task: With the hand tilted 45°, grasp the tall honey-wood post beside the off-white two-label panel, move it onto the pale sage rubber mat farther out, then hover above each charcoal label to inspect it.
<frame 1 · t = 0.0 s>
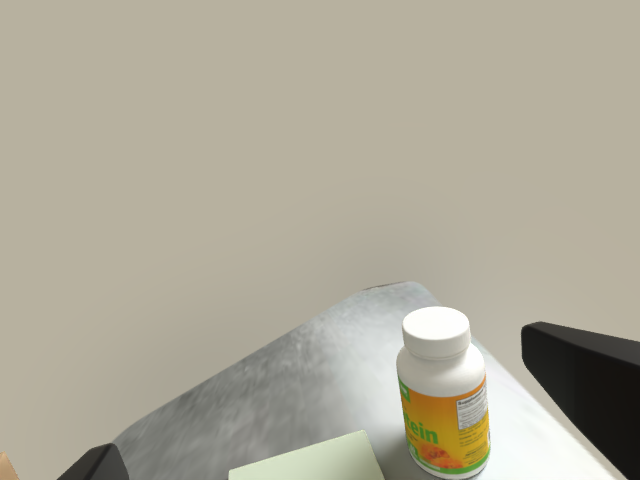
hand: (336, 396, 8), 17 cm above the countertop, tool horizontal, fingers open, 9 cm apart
supplement bottle: (448, 449, 26), on the countertop
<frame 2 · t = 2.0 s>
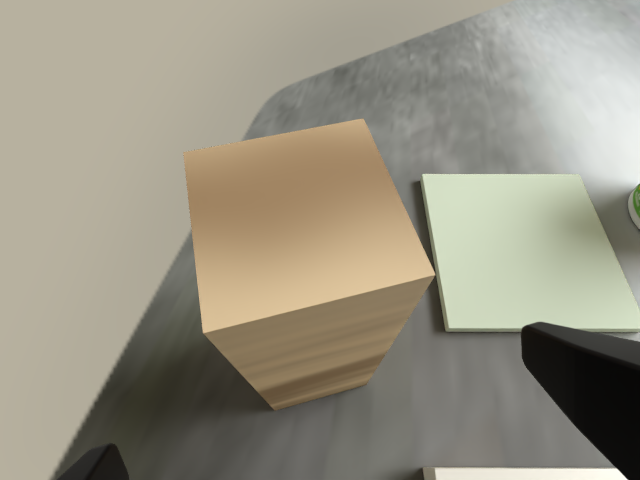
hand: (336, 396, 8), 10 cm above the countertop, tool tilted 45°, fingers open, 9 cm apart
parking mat: (517, 247, 22), on the countertop
oak post: (309, 351, 19), on the countertop
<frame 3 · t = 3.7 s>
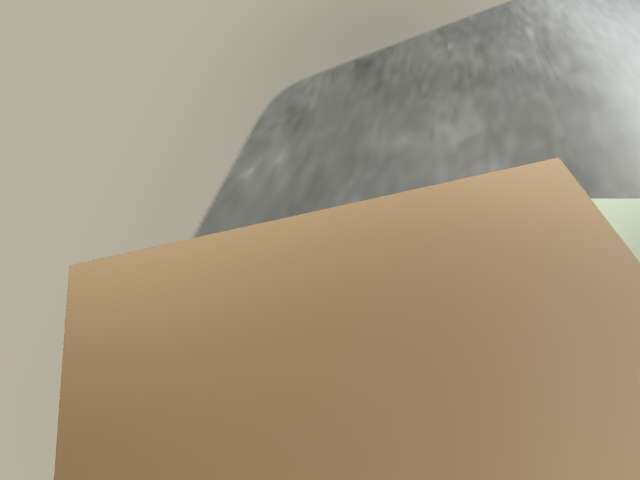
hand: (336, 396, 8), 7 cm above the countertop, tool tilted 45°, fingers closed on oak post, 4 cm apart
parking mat: (615, 301, 16), on the countertop
oak post: (339, 464, 13), on the countertop, touching gripper
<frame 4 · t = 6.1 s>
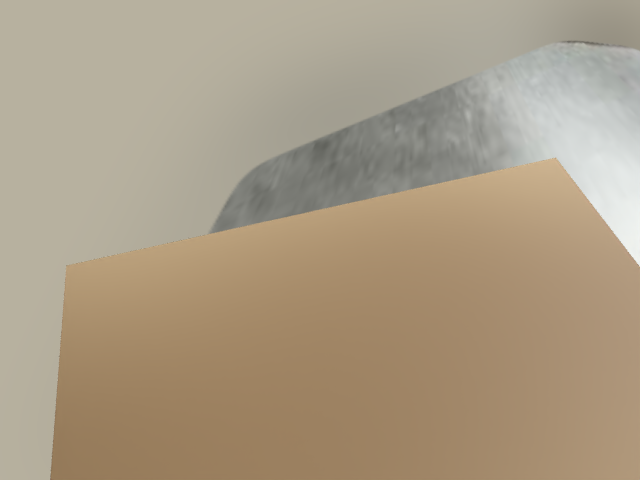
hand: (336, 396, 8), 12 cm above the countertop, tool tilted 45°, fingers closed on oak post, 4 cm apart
oak post: (338, 464, 13), point 6 cm above the countertop, touching gripper
when the fingers open (8 cm above the countertop, at t = 8.2 s): oak post drops 1 cm, resting on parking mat.
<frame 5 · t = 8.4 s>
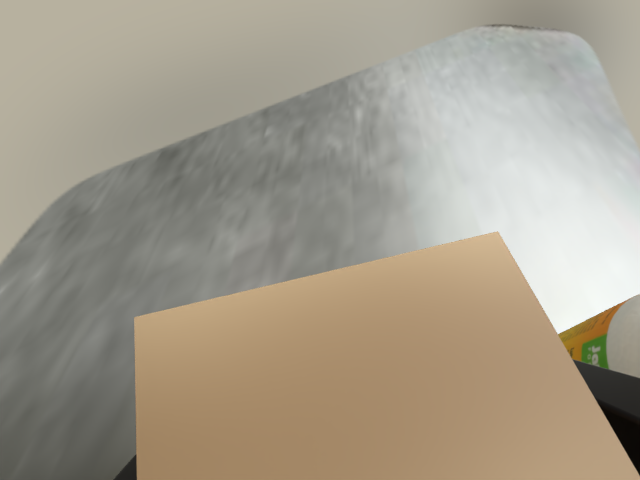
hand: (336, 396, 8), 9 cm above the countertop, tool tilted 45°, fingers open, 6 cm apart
oak post: (336, 463, 14), point 1 cm above the countertop, touching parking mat
supplement bottle: (569, 407, 16), on the countertop
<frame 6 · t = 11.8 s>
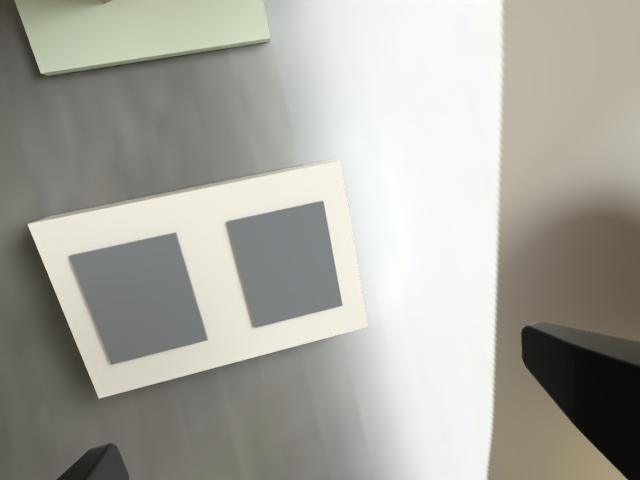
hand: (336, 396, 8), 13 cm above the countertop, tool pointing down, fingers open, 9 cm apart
label panel: (220, 268, 20), on the countertop
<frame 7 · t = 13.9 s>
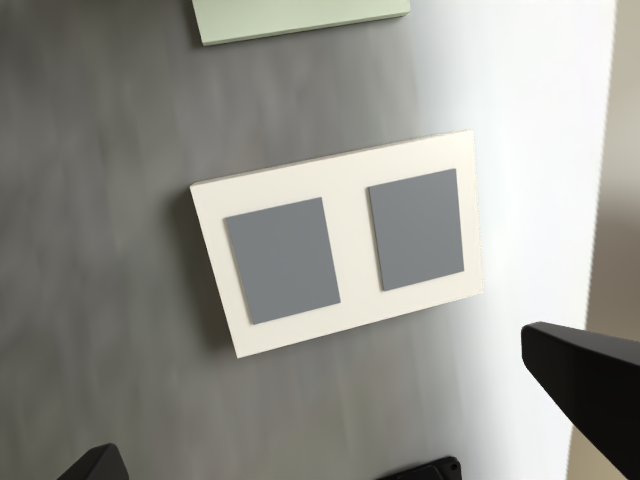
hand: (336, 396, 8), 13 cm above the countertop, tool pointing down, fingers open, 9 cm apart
label panel: (343, 236, 21), on the countertop
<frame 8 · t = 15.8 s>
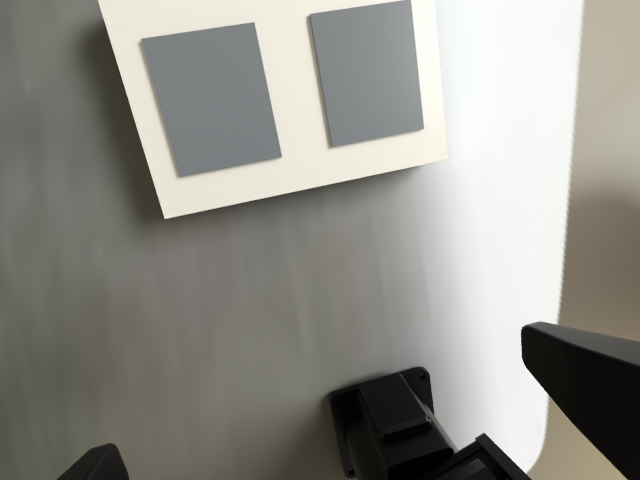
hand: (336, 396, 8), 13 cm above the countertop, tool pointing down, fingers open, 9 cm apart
label panel: (290, 94, 19), on the countertop
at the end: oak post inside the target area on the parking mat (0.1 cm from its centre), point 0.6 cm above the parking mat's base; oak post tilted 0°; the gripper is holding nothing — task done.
